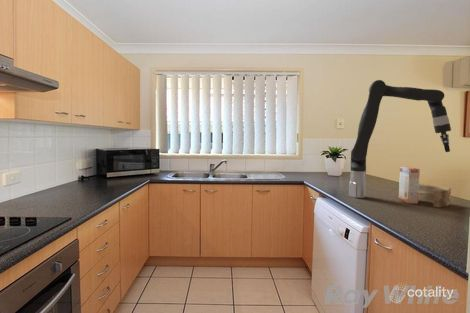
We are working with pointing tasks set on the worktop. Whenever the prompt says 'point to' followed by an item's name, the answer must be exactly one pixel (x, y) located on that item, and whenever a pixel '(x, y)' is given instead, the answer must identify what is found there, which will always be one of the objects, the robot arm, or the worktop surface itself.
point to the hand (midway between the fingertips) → (447, 151)
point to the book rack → (434, 194)
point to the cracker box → (409, 184)
